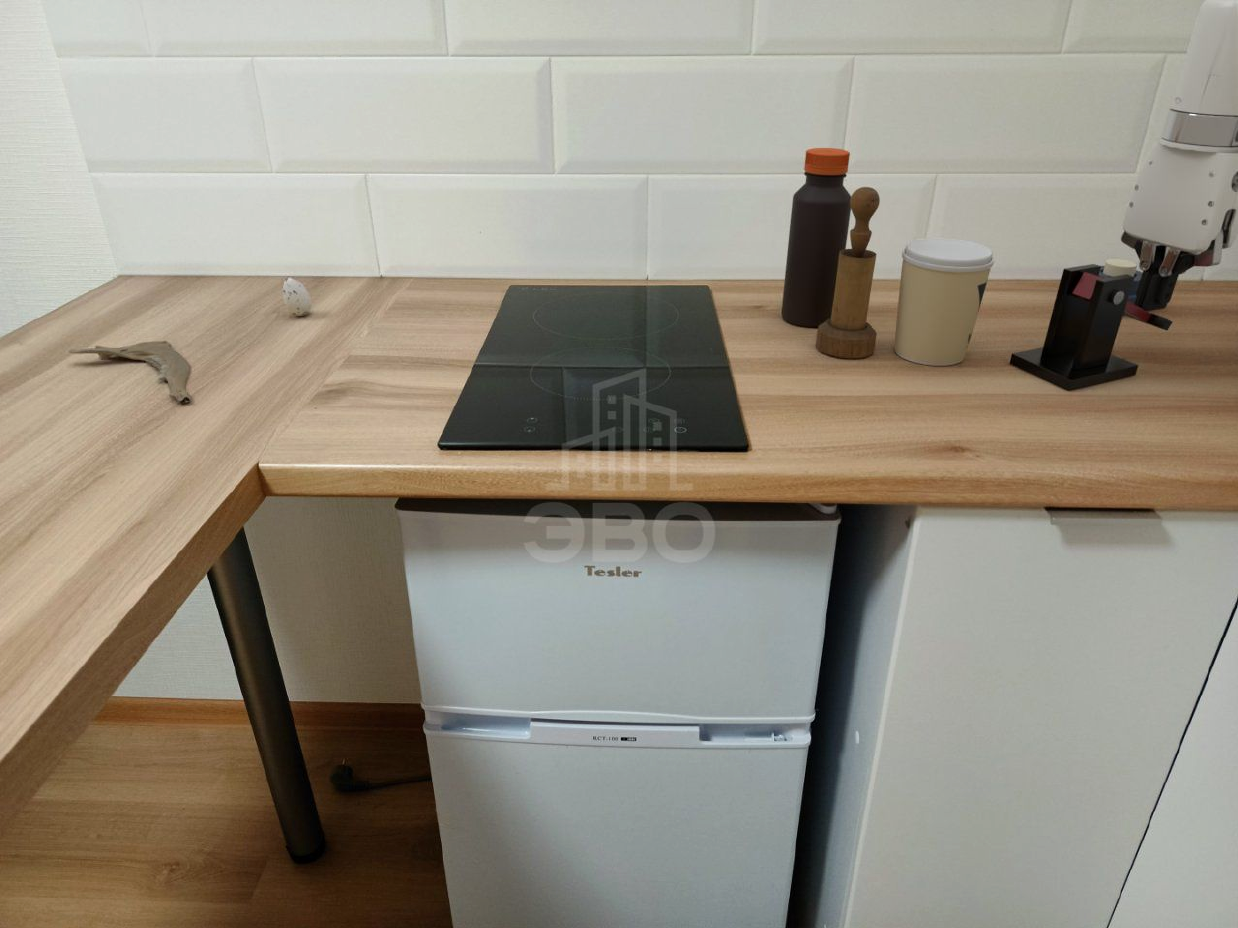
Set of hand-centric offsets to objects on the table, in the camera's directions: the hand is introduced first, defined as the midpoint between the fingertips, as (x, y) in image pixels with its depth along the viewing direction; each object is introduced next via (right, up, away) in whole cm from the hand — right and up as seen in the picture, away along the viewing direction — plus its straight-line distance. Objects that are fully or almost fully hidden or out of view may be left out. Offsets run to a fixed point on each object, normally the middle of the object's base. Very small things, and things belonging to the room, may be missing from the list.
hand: (1149, 307), depth 95 cm
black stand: (-9, -7, -1) cm, 11 cm away
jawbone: (-110, -9, -3) cm, 111 cm away
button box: (+6, +4, +18) cm, 20 cm away
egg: (-99, +1, +14) cm, 100 cm away
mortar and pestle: (-33, -4, +4) cm, 33 cm away
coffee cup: (-23, -5, +3) cm, 24 cm away
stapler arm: (-5, -1, -2) cm, 6 cm away
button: (+6, +7, +17) cm, 19 cm away
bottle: (-35, +1, +13) cm, 37 cm away
